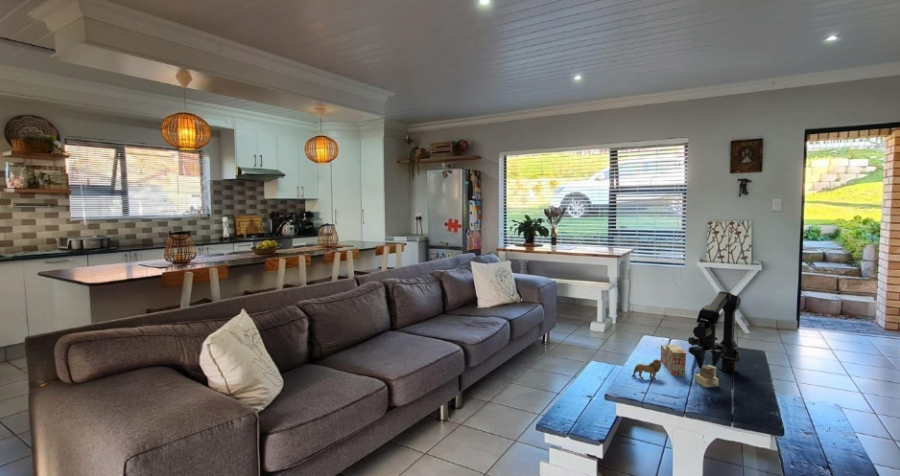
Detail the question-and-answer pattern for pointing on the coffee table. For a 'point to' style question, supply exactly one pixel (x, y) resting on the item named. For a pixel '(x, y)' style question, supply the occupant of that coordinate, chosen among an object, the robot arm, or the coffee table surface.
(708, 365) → the sage block
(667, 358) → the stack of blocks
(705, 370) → the walnut block
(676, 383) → the coffee table surface
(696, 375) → the oak block
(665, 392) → the coffee table surface
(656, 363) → the lion figurine
